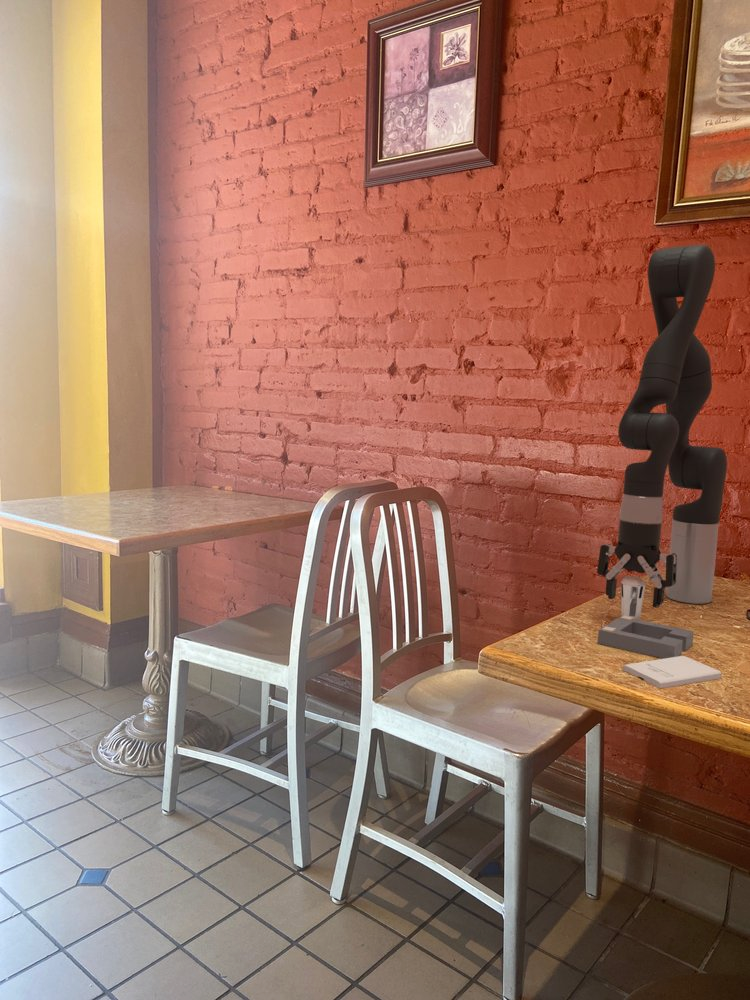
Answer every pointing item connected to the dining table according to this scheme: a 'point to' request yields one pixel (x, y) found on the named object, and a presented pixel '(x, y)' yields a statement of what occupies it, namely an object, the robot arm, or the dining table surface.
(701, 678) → the external hard drive
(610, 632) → the frame
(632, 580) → the milkshake
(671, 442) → the robot arm
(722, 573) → the dining table surface
